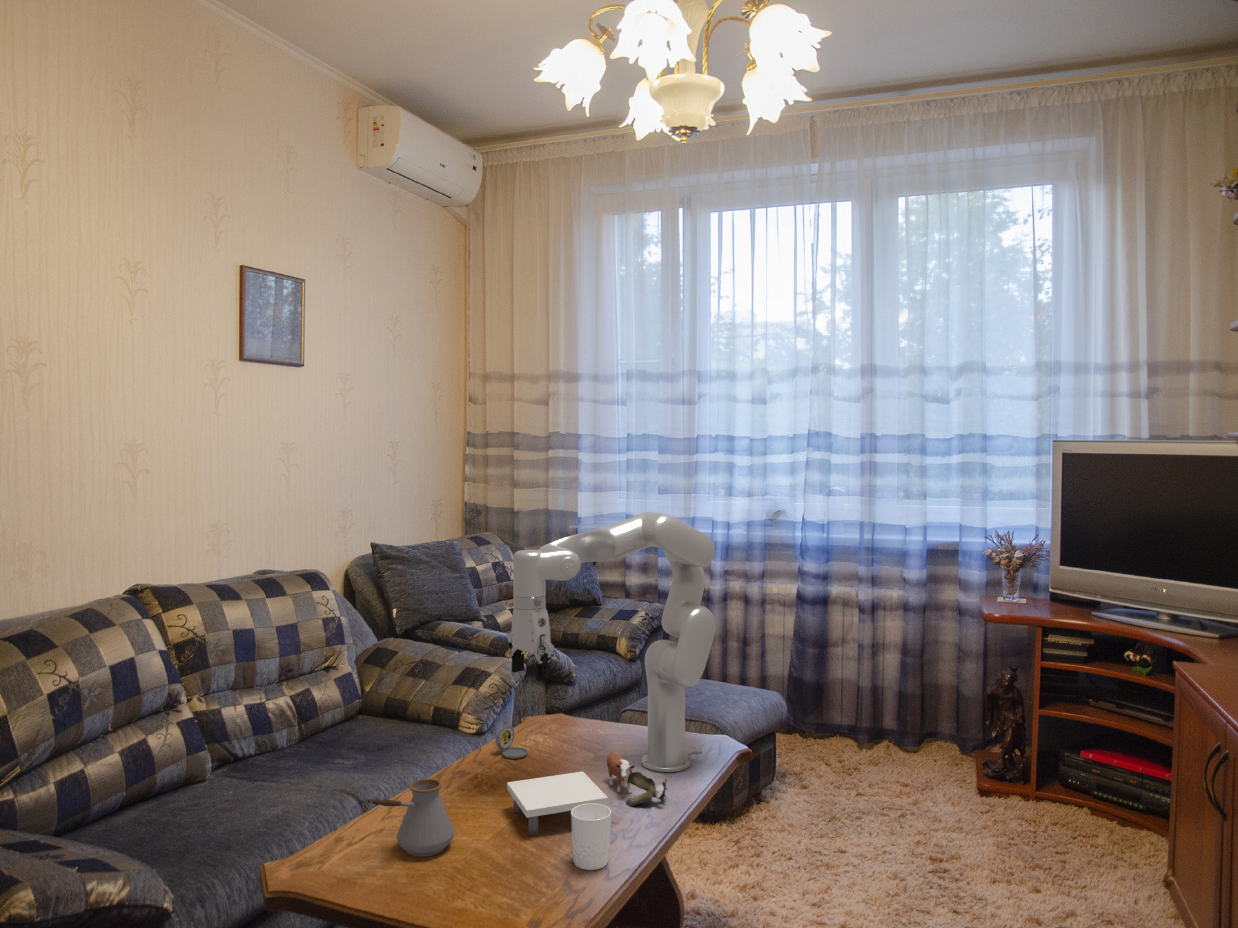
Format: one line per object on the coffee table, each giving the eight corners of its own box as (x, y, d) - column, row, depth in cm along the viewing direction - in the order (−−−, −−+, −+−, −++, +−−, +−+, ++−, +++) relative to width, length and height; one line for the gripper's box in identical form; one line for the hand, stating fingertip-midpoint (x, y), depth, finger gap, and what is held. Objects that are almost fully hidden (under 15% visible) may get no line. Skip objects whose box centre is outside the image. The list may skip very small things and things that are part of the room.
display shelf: (582, 796, 199) (582, 771, 199) (607, 825, 184) (607, 797, 184) (507, 808, 192) (507, 782, 192) (526, 839, 177) (526, 810, 177)
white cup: (616, 856, 170) (616, 806, 170) (602, 874, 163) (603, 822, 162) (579, 849, 173) (579, 800, 172) (564, 867, 165) (564, 816, 165)
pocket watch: (526, 760, 222) (526, 721, 222) (493, 759, 222) (493, 721, 222) (529, 749, 230) (530, 712, 230) (498, 748, 230) (498, 711, 230)
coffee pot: (425, 830, 181) (425, 759, 181) (466, 843, 175) (466, 770, 175) (344, 872, 163) (344, 794, 163) (387, 888, 157) (387, 807, 157)
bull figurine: (619, 801, 196) (619, 766, 196) (604, 779, 209) (604, 746, 209) (637, 799, 198) (638, 764, 197) (621, 777, 211) (621, 744, 210)
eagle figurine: (663, 788, 201) (625, 781, 201) (669, 770, 197) (631, 762, 197) (661, 817, 195) (622, 810, 195) (667, 799, 191) (628, 791, 191)
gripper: (564, 605, 197) (565, 680, 197) (521, 596, 210) (521, 665, 210) (538, 610, 192) (538, 686, 192) (495, 599, 205) (496, 671, 205)
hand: (529, 675), depth 201 cm, fingers open, 9 cm apart
